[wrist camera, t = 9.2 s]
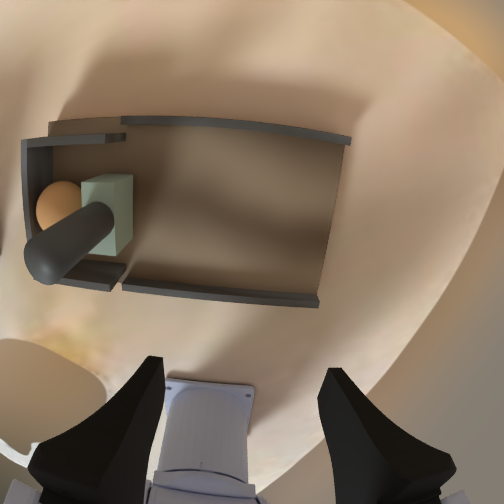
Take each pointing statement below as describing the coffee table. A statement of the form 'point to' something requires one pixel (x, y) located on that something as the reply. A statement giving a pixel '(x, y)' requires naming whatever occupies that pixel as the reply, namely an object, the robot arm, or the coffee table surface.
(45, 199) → the ball
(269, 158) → the tray
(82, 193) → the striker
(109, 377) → the coffee table surface
